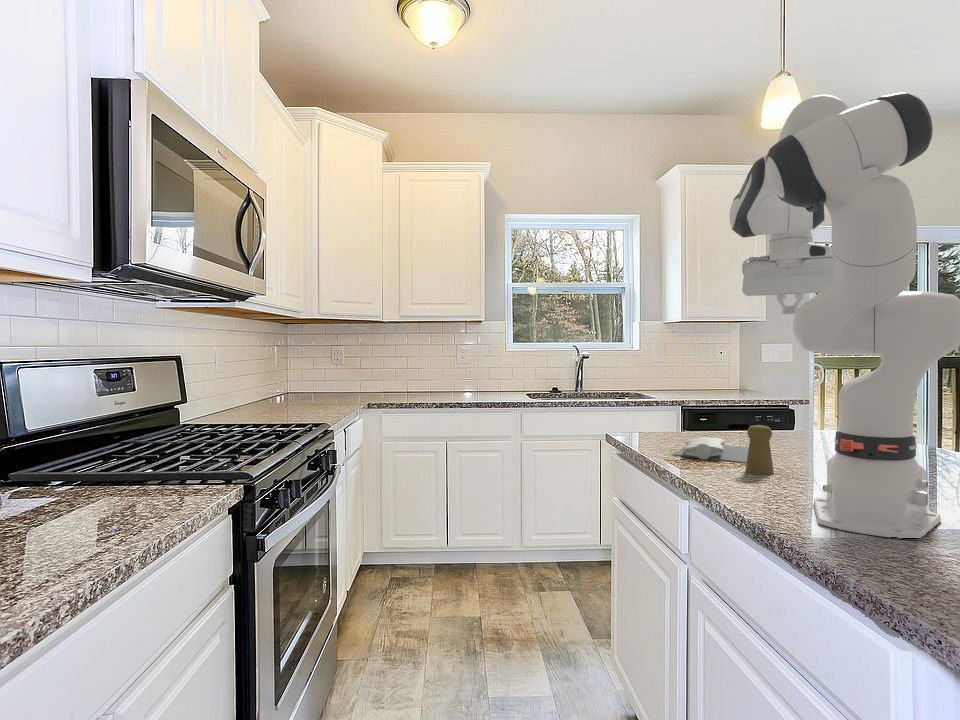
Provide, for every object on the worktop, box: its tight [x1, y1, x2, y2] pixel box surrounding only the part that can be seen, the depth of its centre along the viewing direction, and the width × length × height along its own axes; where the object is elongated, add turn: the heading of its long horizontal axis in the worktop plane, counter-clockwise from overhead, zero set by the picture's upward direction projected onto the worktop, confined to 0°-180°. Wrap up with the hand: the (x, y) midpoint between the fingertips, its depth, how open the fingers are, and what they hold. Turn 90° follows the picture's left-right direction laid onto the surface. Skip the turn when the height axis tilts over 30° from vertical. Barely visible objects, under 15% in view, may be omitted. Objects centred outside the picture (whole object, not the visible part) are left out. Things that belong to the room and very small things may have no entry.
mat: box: [671, 444, 749, 464], centre depth 164 cm, size 22×20×1 cm
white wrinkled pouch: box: [683, 436, 726, 460], centre depth 166 cm, size 11×4×22 cm
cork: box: [745, 424, 775, 476], centre depth 140 cm, size 6×6×11 cm
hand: (790, 313), depth 137 cm, fingers closed
